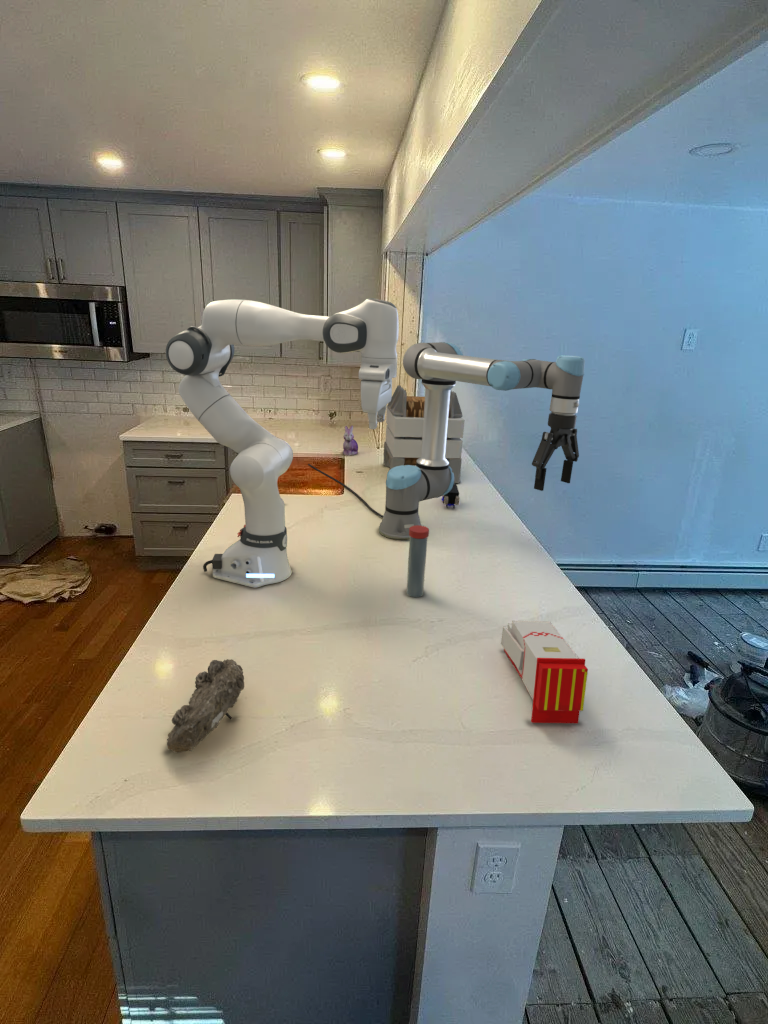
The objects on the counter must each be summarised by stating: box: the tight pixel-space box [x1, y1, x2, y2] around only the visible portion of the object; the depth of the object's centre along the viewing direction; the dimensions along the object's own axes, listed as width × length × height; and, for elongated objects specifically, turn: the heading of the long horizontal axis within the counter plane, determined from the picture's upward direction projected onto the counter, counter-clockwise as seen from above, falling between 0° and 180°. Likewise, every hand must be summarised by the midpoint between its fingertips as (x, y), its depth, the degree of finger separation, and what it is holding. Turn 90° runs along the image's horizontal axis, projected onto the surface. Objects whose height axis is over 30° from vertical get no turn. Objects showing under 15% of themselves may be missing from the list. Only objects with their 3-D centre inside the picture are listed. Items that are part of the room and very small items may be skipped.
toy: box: [500, 620, 589, 724], centre depth 121 cm, size 12×13×30 cm
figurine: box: [342, 424, 359, 456], centre depth 303 cm, size 9×10×15 cm
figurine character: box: [441, 483, 460, 509], centre depth 231 cm, size 7×8×15 cm
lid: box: [409, 525, 430, 539], centre depth 153 cm, size 5×5×2 cm
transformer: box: [383, 384, 465, 484], centre depth 268 cm, size 34×33×41 cm
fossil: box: [166, 658, 245, 754], centre depth 106 cm, size 22×10×15 cm
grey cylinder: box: [405, 536, 429, 598], centre depth 156 cm, size 5×5×19 cm
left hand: (376, 425), depth 144 cm, fingers open, 8 cm apart
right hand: (552, 485), depth 166 cm, fingers open, 13 cm apart
